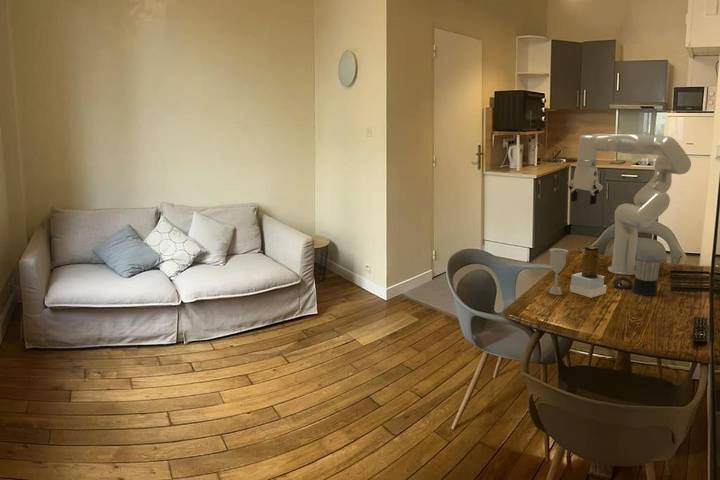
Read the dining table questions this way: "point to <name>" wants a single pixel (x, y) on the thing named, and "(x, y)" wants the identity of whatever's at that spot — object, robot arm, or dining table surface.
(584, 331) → the dining table surface
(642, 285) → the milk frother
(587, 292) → the tower base
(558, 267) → the chalice
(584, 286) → the tower top
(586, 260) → the condiment
